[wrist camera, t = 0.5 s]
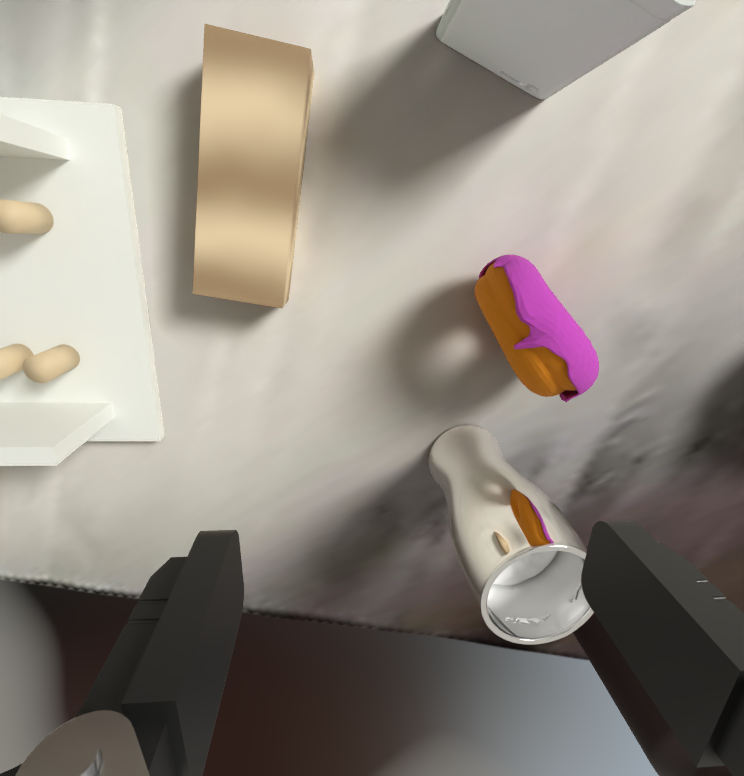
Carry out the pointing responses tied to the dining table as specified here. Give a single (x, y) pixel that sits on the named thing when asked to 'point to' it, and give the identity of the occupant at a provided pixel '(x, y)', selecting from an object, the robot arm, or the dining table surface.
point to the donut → (535, 329)
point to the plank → (250, 165)
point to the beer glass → (509, 541)
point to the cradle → (70, 285)
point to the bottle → (638, 706)
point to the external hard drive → (549, 35)
